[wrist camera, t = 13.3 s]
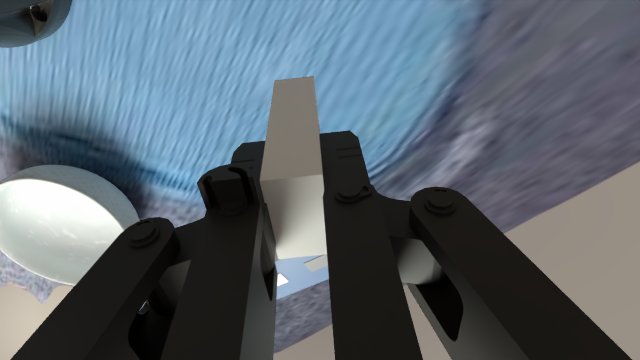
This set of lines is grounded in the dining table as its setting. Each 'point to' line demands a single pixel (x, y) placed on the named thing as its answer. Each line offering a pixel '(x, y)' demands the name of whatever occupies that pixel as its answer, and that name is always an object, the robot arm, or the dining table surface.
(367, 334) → the robot arm
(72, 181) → the cereal bowl
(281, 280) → the switch board
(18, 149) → the dining table surface
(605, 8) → the dining table surface
